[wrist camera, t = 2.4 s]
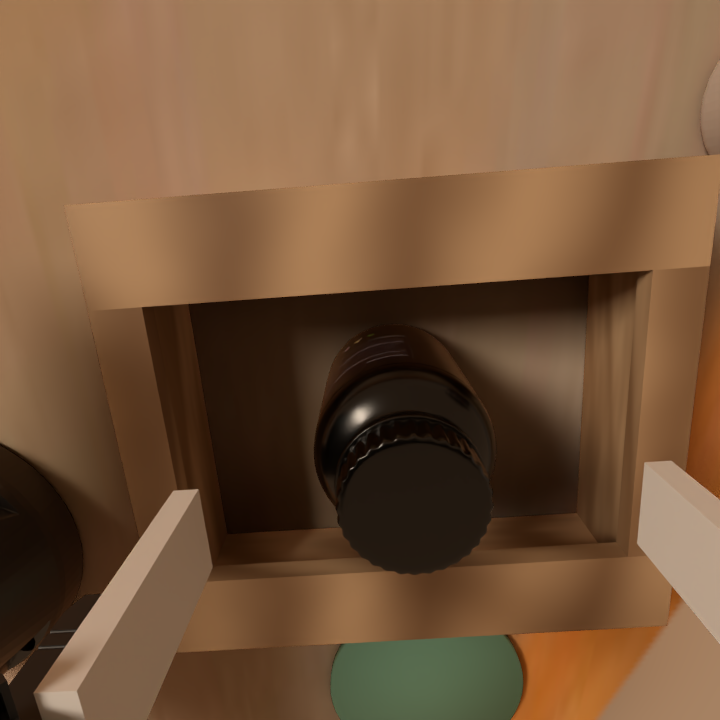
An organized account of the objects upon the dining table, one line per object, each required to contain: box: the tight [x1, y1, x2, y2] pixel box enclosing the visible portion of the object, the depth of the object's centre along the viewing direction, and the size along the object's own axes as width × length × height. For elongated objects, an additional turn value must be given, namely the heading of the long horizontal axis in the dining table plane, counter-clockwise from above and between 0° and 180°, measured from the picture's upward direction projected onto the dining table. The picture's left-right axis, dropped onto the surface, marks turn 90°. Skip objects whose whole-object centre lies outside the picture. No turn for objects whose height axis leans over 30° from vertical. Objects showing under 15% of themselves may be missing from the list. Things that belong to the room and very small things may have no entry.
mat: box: [330, 635, 523, 720], centre depth 32 cm, size 12×12×1 cm
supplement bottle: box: [314, 324, 497, 575], centre depth 21 cm, size 7×7×12 cm
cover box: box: [64, 154, 720, 653], centre depth 23 cm, size 22×19×7 cm
